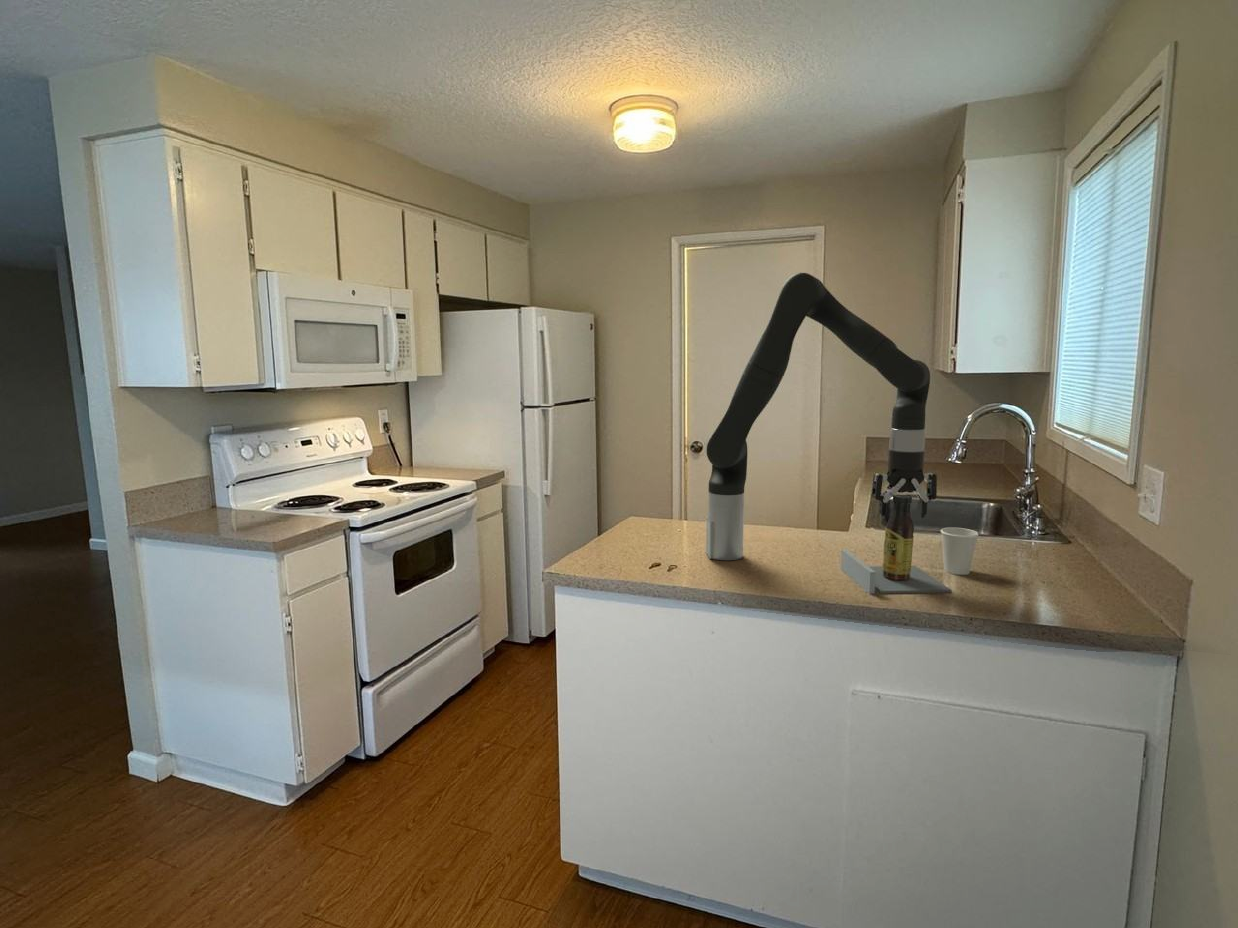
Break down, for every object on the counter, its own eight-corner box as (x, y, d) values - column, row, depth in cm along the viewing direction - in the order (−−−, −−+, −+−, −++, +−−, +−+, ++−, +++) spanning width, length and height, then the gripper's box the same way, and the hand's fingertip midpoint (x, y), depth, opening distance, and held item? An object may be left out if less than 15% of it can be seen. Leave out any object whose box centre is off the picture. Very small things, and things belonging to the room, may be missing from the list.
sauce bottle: (877, 573, 169) (881, 492, 166) (902, 572, 170) (907, 491, 167) (890, 582, 163) (895, 497, 160) (916, 581, 164) (921, 497, 160)
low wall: (869, 593, 157) (870, 572, 156) (840, 569, 175) (841, 549, 174) (874, 593, 157) (875, 572, 156) (845, 569, 175) (846, 549, 174)
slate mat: (880, 593, 157) (880, 591, 157) (851, 569, 175) (851, 566, 175) (951, 592, 158) (951, 589, 158) (914, 568, 176) (915, 565, 176)
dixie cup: (973, 567, 176) (976, 528, 174) (978, 578, 168) (981, 537, 166) (936, 564, 178) (939, 526, 177) (939, 574, 170) (942, 534, 169)
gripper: (882, 450, 158) (878, 521, 160) (945, 450, 158) (940, 521, 161) (869, 446, 165) (866, 514, 168) (929, 445, 166) (925, 513, 168)
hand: (902, 517), depth 164 cm, fingers open, 8 cm apart
